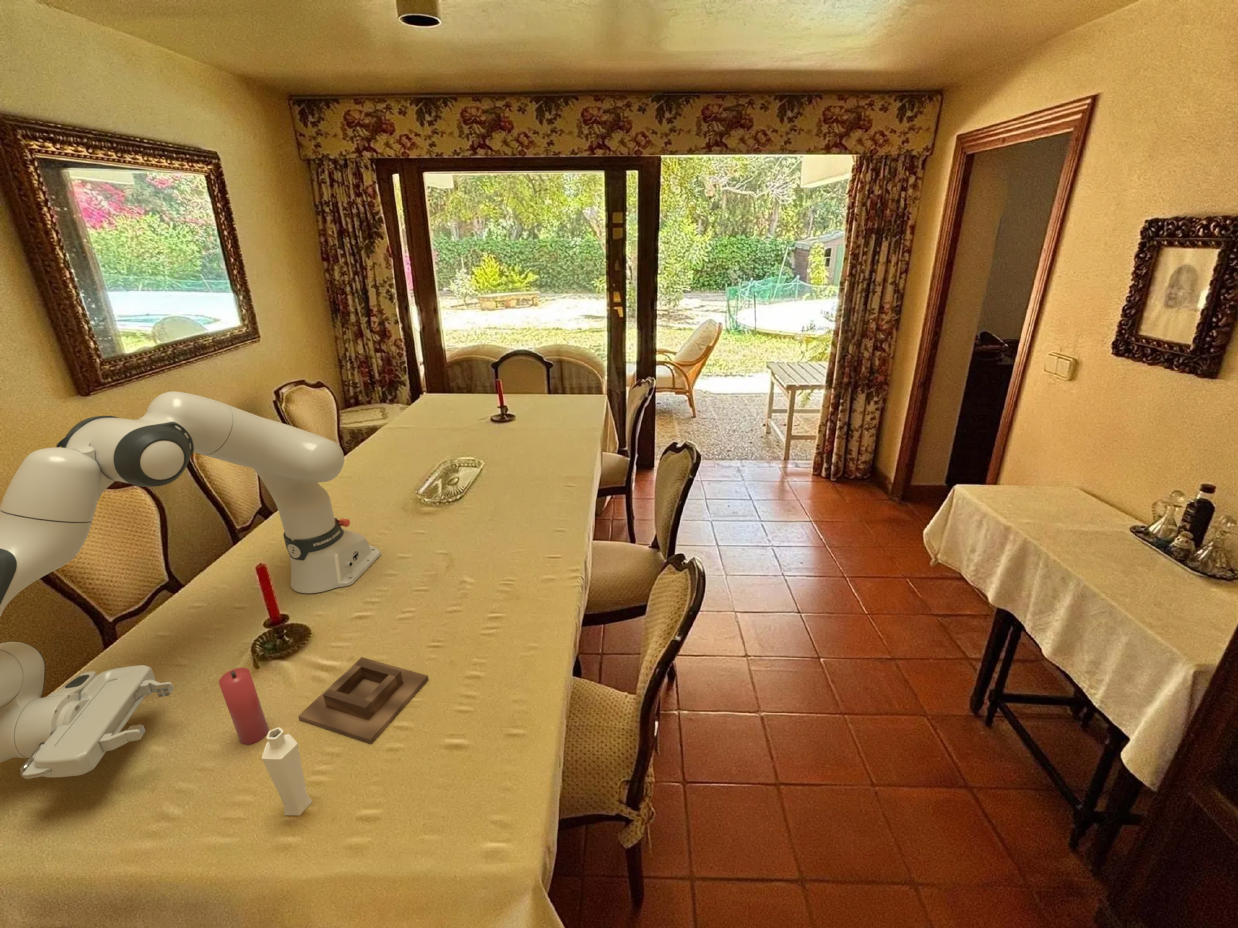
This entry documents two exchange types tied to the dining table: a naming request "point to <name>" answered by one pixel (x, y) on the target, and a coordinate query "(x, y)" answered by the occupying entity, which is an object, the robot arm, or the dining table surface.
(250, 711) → the burgundy candle
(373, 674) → the walnut stand
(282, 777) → the perfume bottle
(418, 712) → the dining table surface
